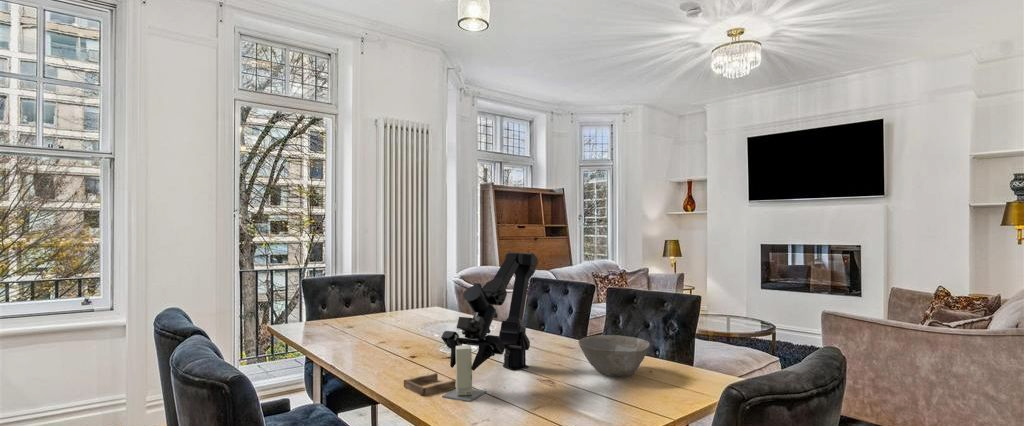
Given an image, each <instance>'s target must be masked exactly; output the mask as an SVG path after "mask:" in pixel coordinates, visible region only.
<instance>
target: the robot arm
mask: <svg viewBox="0 0 1024 426" xmlns="http://www.w3.org/2000/svg"><path fill="white" fill-rule="evenodd" d="M538 261H539V260H538V256H536V254H535V253H533V252H532V253H531V252H513V251H512V252H511V251H510V252H507V253H505V259H504V260H503V262H502V264H501V265H500V266H499V268H498V270H497V272H496V273H495V275H494V276H493V278H492V279H491V280H489V281H487V282H486V283H485V284H484V285H482V283H478V282H477V283H473V286H469V287H468V288H467V289H466V290H464V292H463V294H462V297H463V300H464V301H465V303H466V304H467V305H468V307H469V308H470V309H469V310H471V311H472V312H473V313H474V314H473V316H472V317H467V316H458V318H457V319H458V320H457V325H456V329H458V330H459V329H460V330H461V333H462V335H464V336H460V335H459V334H458V332H457V331H452V330H444V331H443V332H442V335H441V337H440V338H441V340H442V341H443V343H444V344H445V345H446V347H447V348H448V349H450V364H449V365H450V367H451V368H454V367H455V366H456V346H463V345H470V346H475V347H478V350H477V352H476V354H475V357H474V359H473V362H472V368H471V369H472V372H473V371H475V370H476V369H478V368H479V367H480V366H481V365H482V364H483V363H484V362H486V361H487V360H488V359H490V358H491V357H495V355H503V360H504V361H503V364H502V367H504V368H506V369H509V370H512V371H516V370H517V371H518V370H521V369H526V368H529V365H528V364H526V361H527V359H526V354H527V353H526V351H529V350H530V347H531V340H530V339H529V337H528V335H527V333H526V331H527V329H526V325H525V324H524V321H523V319H524V313H525V308H526V307H525V306H526V300H527V294H528V293H527V292H528V289H529V288H528V286H529V282H530V278H532V276H533V275H534V274H535V272H536V269H537V266H538V263H539V262H538ZM513 276H514V277H515V278H514V280H513V281H514V282H513V288H512V292H511V293H512V294H511V298H510V299H511V300H510V306H509V311H508V317H507V318H506V319H505V320H502V321H501V325H500V328H499V329H500V330H499V333H498V335H495V334H494V335H492V334H491V332H492V330H491V329H490V328H491V324H492V323H493V320H494V319H497V318H498V316H499V315H498V313H497V309H496V308H495V307H494V306H503V304H504V303H505V301H506V298H507V296H508V292H507V287H508V285H509V284H510V281H511V280H512V278H513Z"/></svg>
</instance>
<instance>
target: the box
mask: <svg viewBox="0 0 1024 426" xmlns="http://www.w3.org/2000/svg"><path fill="white" fill-rule="evenodd" d="M472 361H473V360H472V345H467V344H463V345H462V346H456V364H455V381H456V388H455V389H456V391H457V395H458V396H462V395H472V389H473V370H472V369H471V368H472V364H473V362H472Z"/></svg>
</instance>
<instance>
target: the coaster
mask: <svg viewBox="0 0 1024 426" xmlns="http://www.w3.org/2000/svg"><path fill="white" fill-rule="evenodd" d="M486 393H487V390H483V389H475V388H472V395H462V396H458V395H457V391H456V388H453V390H452V389H451V390H450V391H448V392H446V393H445V394H443V395H441V398H444V399H450V400H457V401H462V402H468V403H470V402H472V401H474V400H475V399H478V398H479V397H481V396H483V395H485V394H486Z"/></svg>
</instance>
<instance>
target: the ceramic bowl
mask: <svg viewBox="0 0 1024 426" xmlns="http://www.w3.org/2000/svg"><path fill="white" fill-rule="evenodd" d="M577 342H578V345H579V348H580V350H581V351H582V353H583V354H584V356H585V359H586V360H587V361H588V363H589V364H590V365H591V367H593V368H594V370H595V371H597V372H598V373H600V374H602V375H606V376H613V377H629V376H631V375H633V374H635V372H636V371H637V370H638V369H639V367H640V365H641V364H642V362H643V361H644V359H645V357H646V355H647V354H648V350H649V349H650V345H651V344H650V342H649V341H648V340H646V339H642V338H638V337H634V336H626V335H619V334H618V335H617V334H616V335H615V334H608V335H607V334H603V335H601V334H597V335H596V334H595V335H591V336H586V337H582V338H581V339H578V341H577Z"/></svg>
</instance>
